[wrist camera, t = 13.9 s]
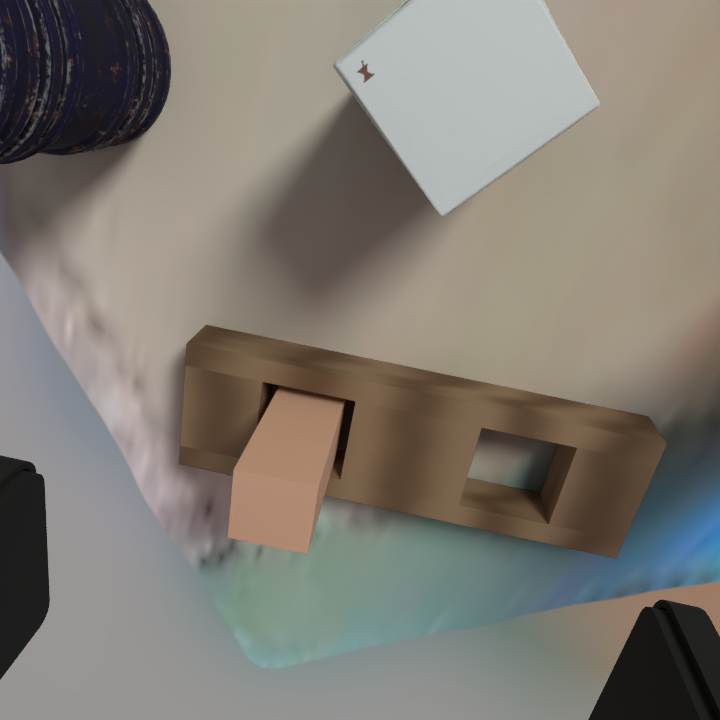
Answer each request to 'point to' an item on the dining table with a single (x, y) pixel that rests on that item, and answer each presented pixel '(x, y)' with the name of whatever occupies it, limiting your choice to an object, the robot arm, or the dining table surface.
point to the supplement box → (466, 89)
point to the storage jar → (78, 75)
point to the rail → (427, 439)
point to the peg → (286, 470)
